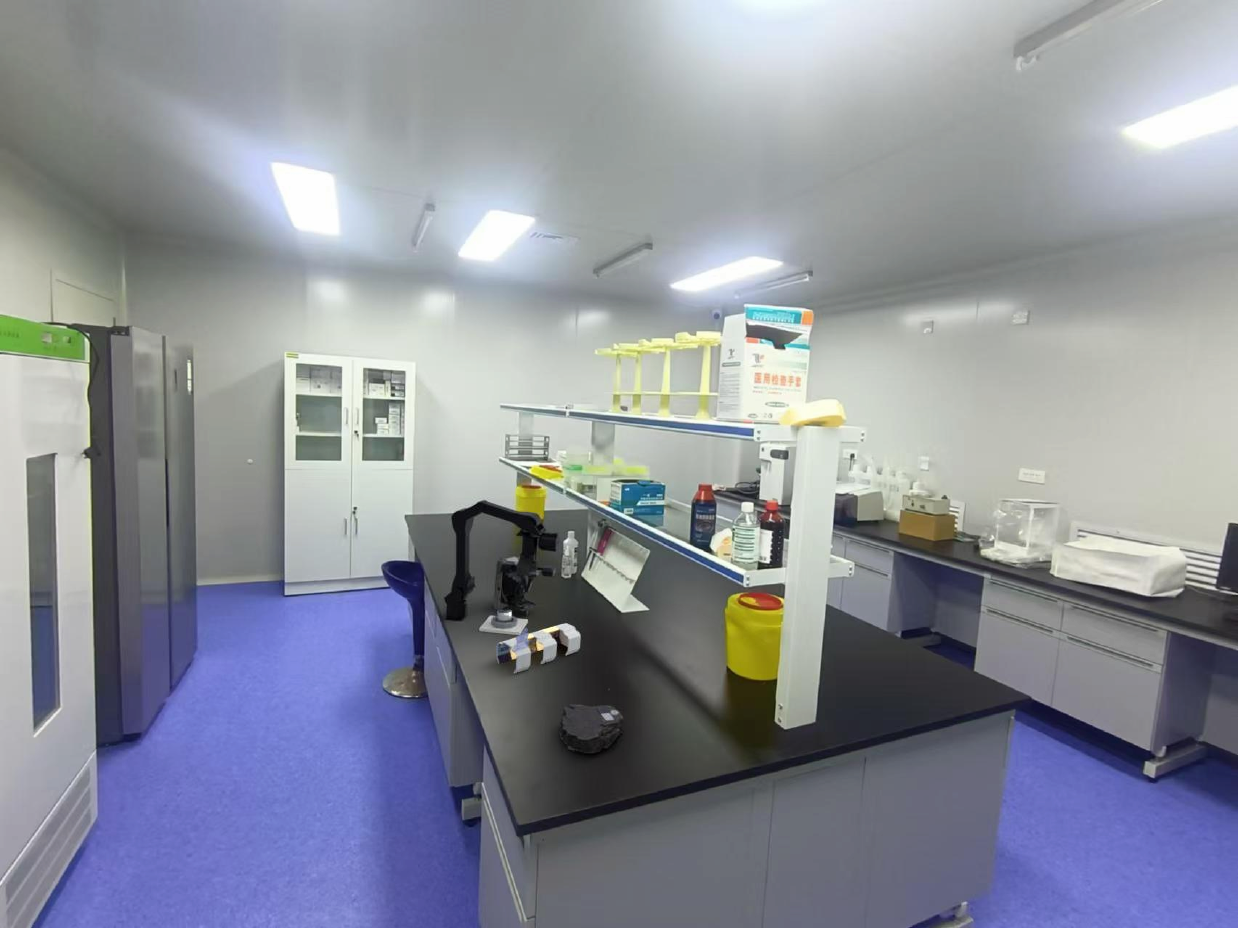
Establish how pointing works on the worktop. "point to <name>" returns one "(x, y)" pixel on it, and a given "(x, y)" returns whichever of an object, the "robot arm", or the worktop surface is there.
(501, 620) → the metal cylinder
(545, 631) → the diorama
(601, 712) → the rock sample
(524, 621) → the barrel plate
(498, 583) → the vintage camera
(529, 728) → the worktop surface
